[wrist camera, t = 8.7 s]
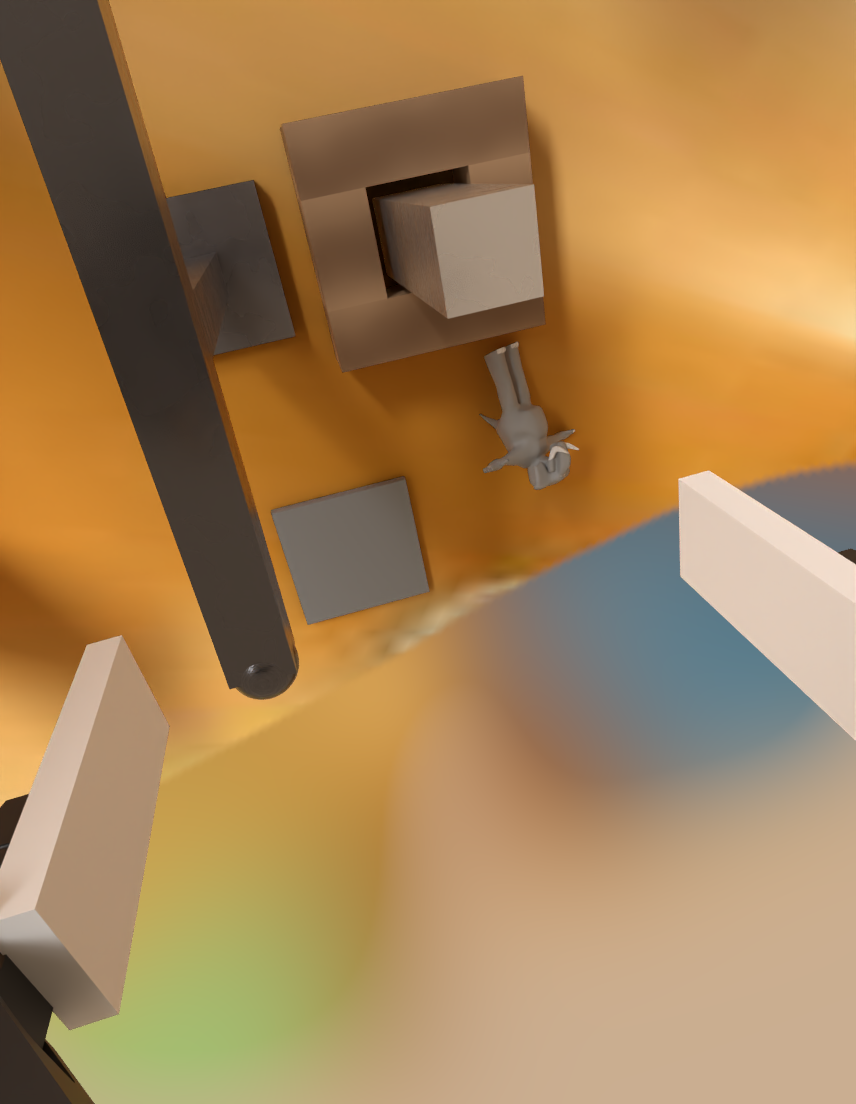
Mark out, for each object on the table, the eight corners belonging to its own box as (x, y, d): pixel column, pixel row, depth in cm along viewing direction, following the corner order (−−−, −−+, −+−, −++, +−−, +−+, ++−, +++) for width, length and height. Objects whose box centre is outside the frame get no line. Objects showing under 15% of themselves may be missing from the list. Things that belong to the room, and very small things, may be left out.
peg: (372, 198, 38) (429, 206, 25) (441, 183, 38) (533, 184, 26) (386, 274, 40) (447, 318, 27) (453, 259, 40) (544, 296, 28)
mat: (271, 510, 45) (271, 513, 45) (403, 476, 46) (405, 479, 46) (307, 620, 50) (307, 624, 49) (427, 587, 51) (429, 591, 50)
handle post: (100, 211, 36) (-10, 232, 21) (253, 180, 36) (249, 178, 22) (158, 364, 40) (99, 471, 25) (294, 332, 40) (315, 418, 26)
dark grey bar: (239, 664, 30) (236, 722, 27) (-78, -248, 16) (-160, -352, 13) (302, 649, 30) (307, 704, 27) (44, -258, 17) (-8, -362, 14)
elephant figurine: (579, 321, 44) (617, 458, 46) (505, 351, 48) (542, 475, 50) (490, 342, 37) (540, 501, 39) (413, 375, 41) (460, 518, 43)
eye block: (280, 128, 36) (282, 123, 33) (501, 84, 37) (522, 75, 34) (336, 358, 42) (342, 372, 39) (525, 314, 43) (545, 324, 40)
